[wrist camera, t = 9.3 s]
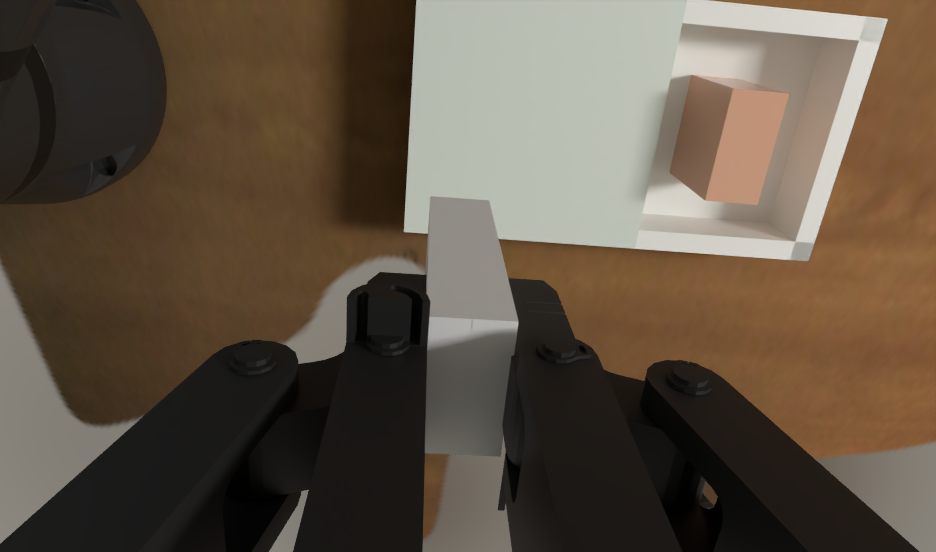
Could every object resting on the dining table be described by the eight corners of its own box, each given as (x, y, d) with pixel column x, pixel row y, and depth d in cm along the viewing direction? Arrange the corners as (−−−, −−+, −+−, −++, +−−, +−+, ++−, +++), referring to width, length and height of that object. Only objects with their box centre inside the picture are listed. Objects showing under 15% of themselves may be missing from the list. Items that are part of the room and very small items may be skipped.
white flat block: (407, 210, 42) (403, 231, 38) (420, -28, 36) (418, -30, 32) (618, 226, 43) (634, 248, 39) (663, -3, 37) (687, -2, 33)
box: (618, 226, 43) (634, 248, 39) (663, -3, 37) (687, -2, 33) (777, 238, 43) (808, 261, 40) (844, 16, 38) (887, 18, 34)
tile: (704, 200, 35) (757, 204, 35) (733, 88, 33) (789, 93, 33) (669, 172, 41) (714, 176, 41) (691, 74, 38) (739, 79, 39)
